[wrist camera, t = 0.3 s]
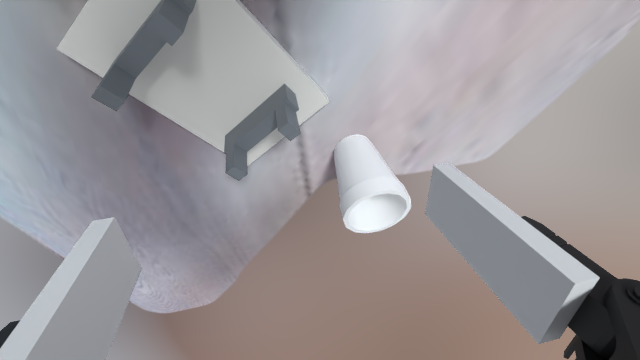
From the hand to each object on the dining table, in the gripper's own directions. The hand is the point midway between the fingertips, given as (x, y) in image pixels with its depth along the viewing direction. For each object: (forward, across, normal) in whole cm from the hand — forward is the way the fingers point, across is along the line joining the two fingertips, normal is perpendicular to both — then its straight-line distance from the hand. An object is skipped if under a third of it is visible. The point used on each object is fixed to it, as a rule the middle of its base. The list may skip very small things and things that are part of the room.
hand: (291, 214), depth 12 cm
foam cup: (+31, +13, -13) cm, 36 cm away
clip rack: (+28, -5, +1) cm, 28 cm away
